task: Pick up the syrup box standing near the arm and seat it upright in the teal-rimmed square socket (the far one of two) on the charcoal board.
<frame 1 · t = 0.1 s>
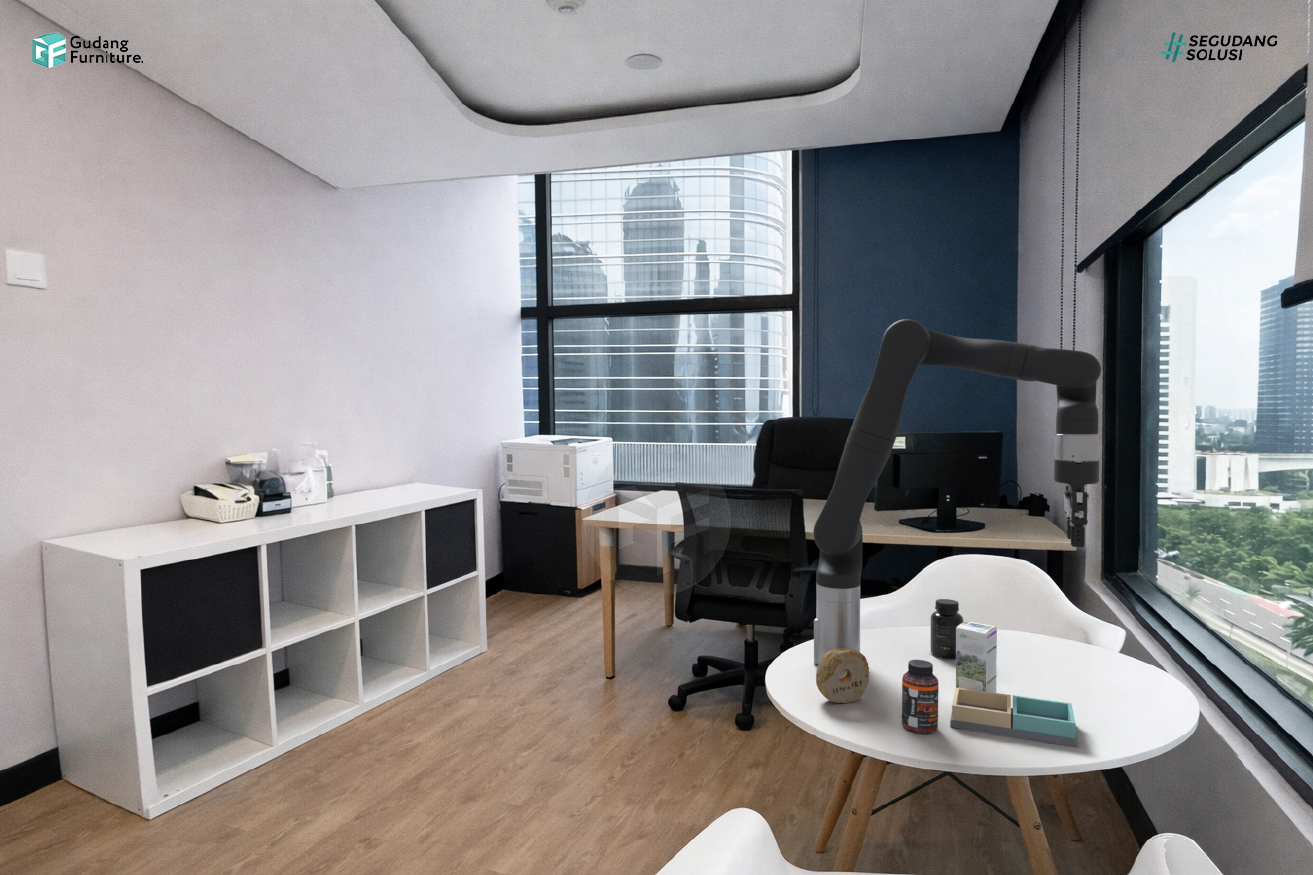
hand: (1075, 542, 144), 29 cm above the table, fingers open, 8 cm apart
stone disc: (842, 701, 143), on the table
supplement bottle: (946, 655, 169), on the table
supplement bottle 2: (919, 728, 130), on the table
syrup box: (976, 703, 141), on the table
socket board: (1011, 725, 131), on the table
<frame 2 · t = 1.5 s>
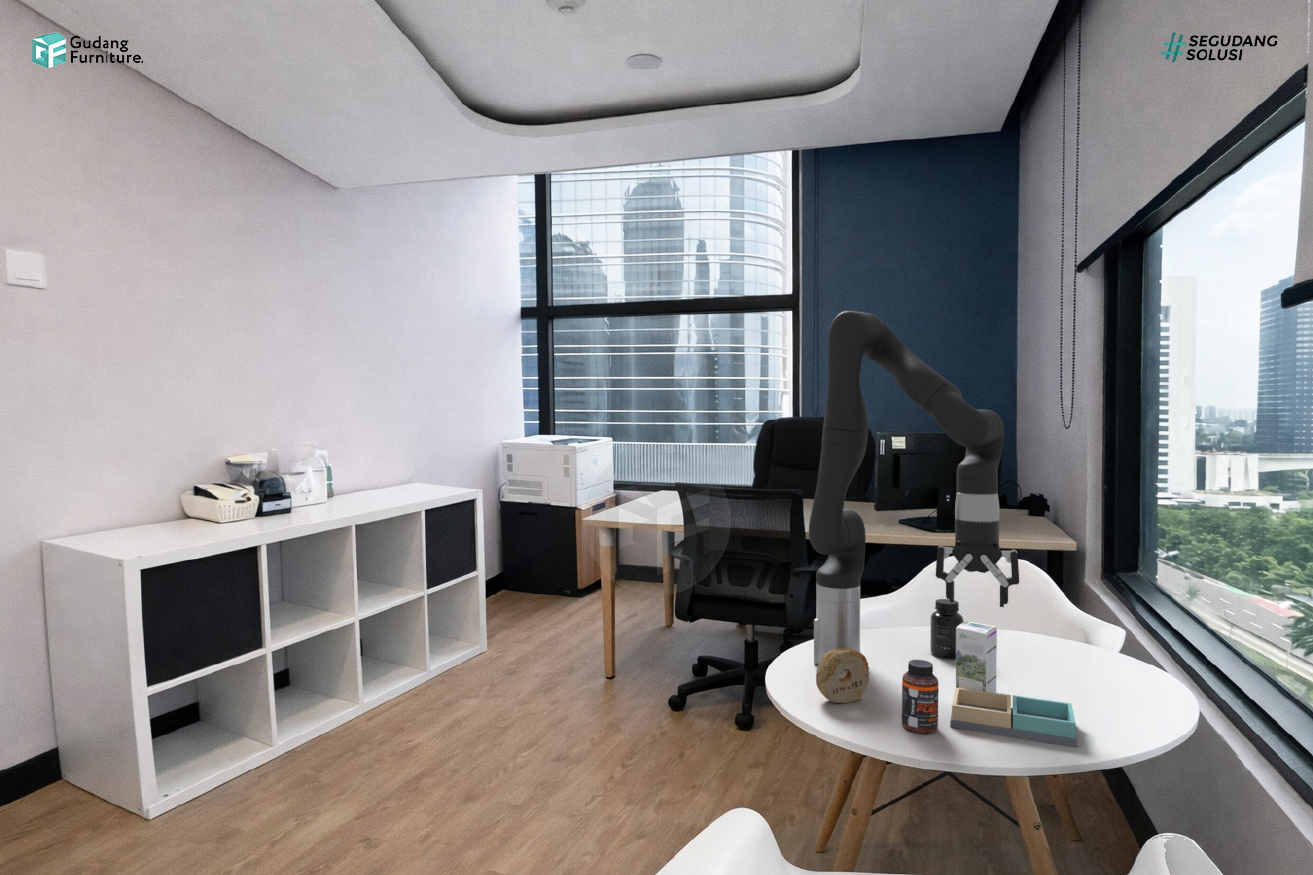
hand: (976, 603, 141), 19 cm above the table, fingers open, 8 cm apart
nothing on the table moved.
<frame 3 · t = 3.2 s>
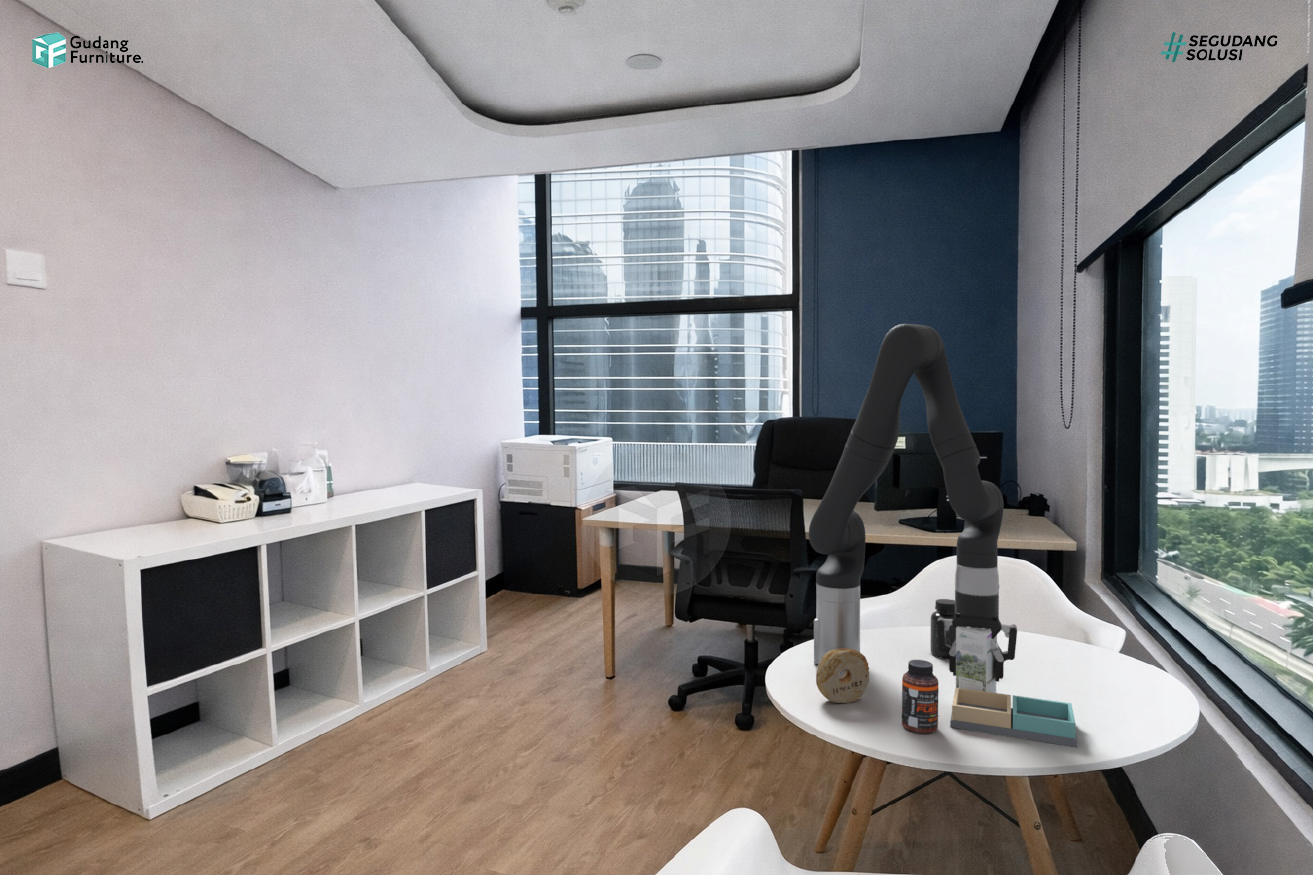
hand: (976, 677, 141), 5 cm above the table, fingers closed on syrup box, 6 cm apart
syrup box: (976, 703, 141), on the table, touching gripper
everything else where it was.
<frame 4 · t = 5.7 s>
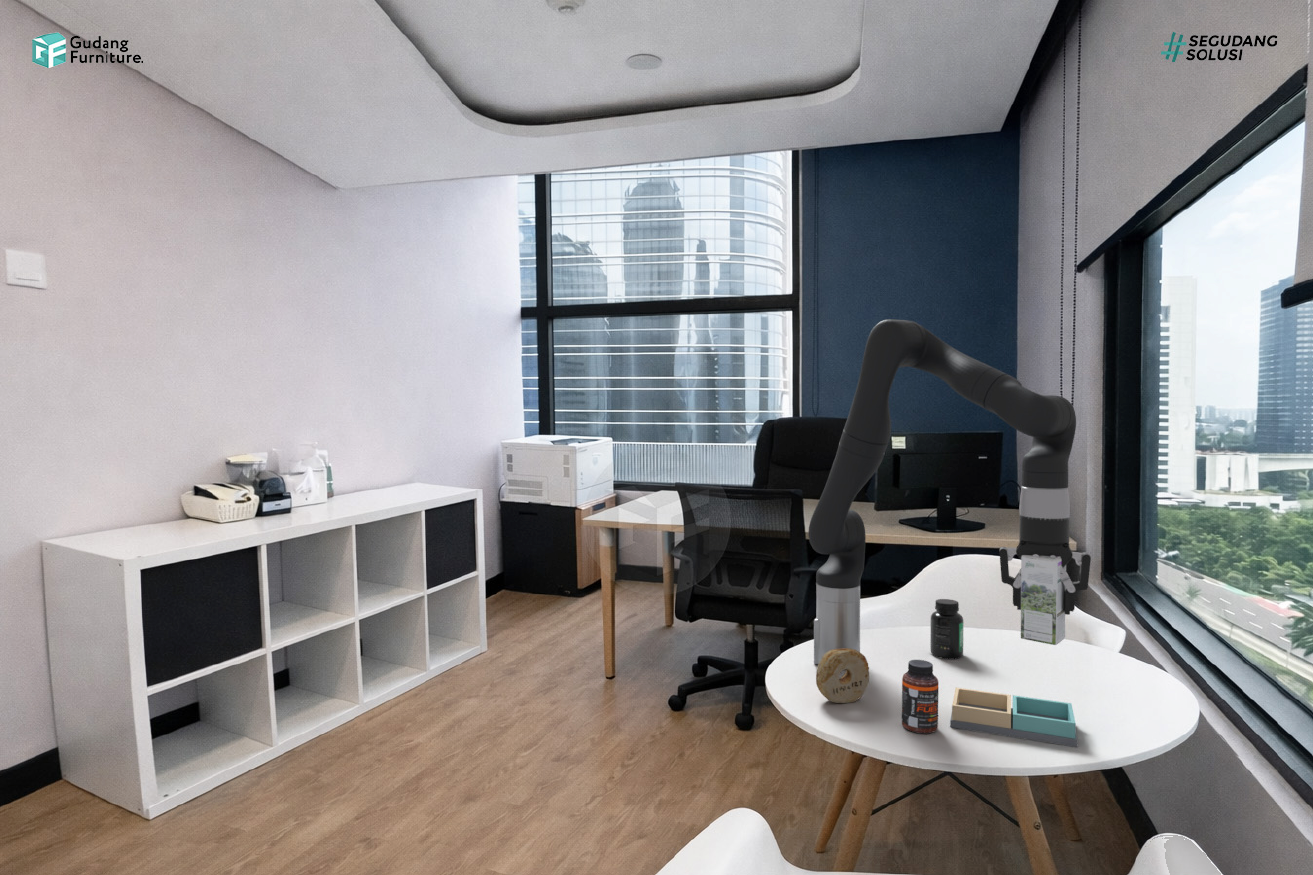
hand: (1043, 610, 128), 20 cm above the table, fingers closed on syrup box, 6 cm apart
syrup box: (1042, 640, 129), point 15 cm above the table, touching gripper
everything else where it was.
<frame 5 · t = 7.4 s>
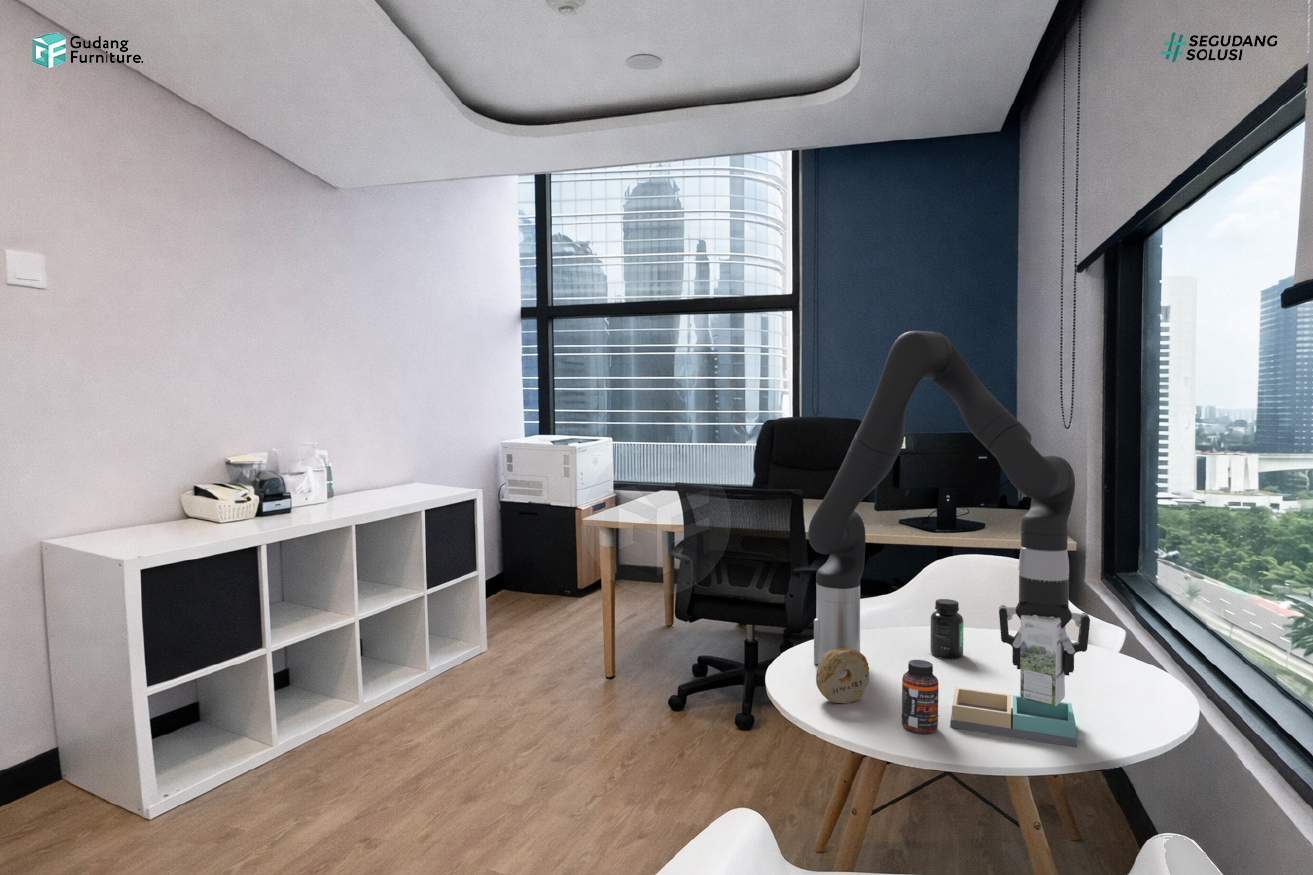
hand: (1042, 670, 129), 10 cm above the table, fingers closed on syrup box, 6 cm apart
syrup box: (1042, 699, 129), point 5 cm above the table, touching gripper
everything else where it was.
when the fingers open (8 cm above the table, at t = 8.6 s): syrup box drops 2 cm, resting on socket board.
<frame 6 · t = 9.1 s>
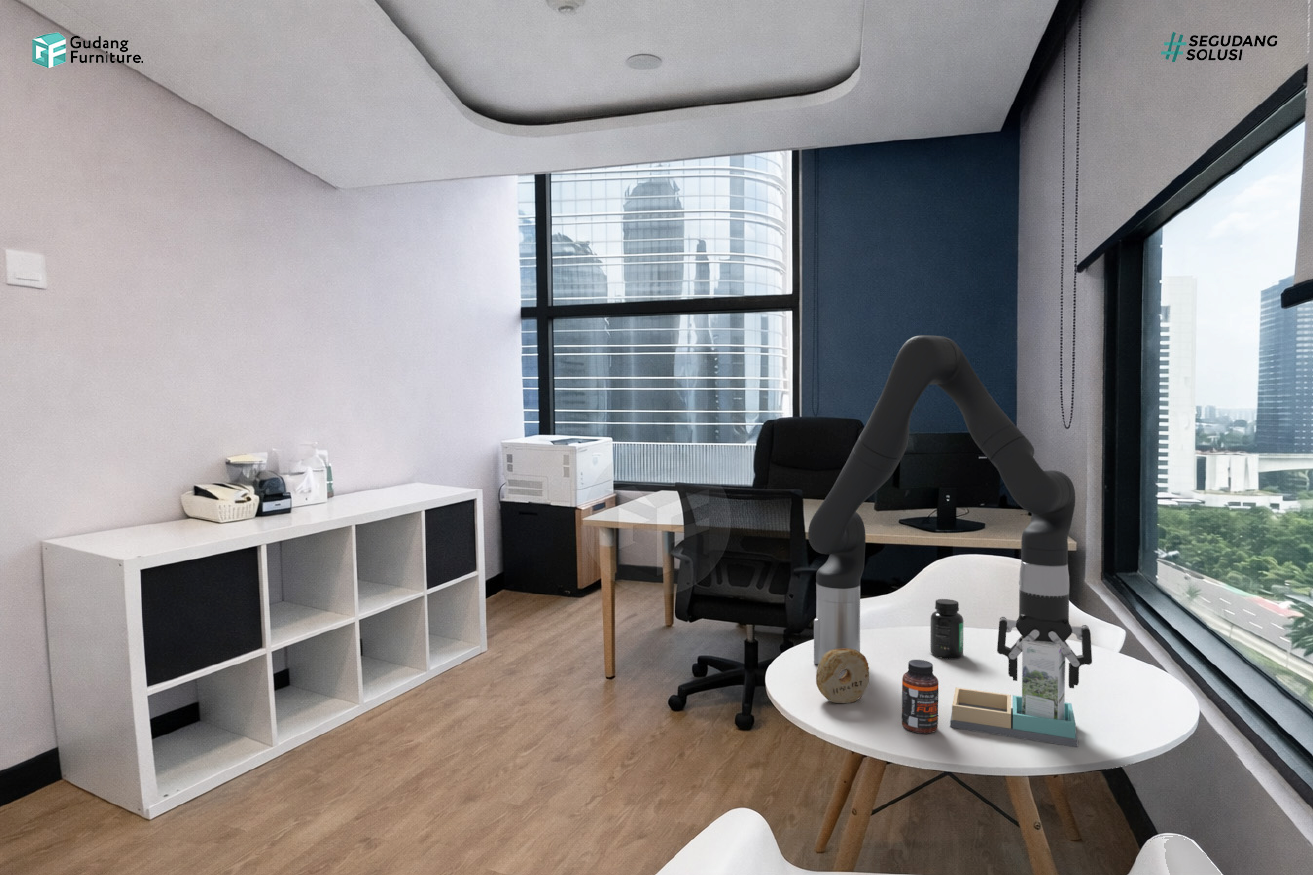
hand: (1042, 683, 129), 8 cm above the table, fingers open, 8 cm apart
syrup box: (1043, 724, 129), point 1 cm above the table, touching socket board
everything else where it was.
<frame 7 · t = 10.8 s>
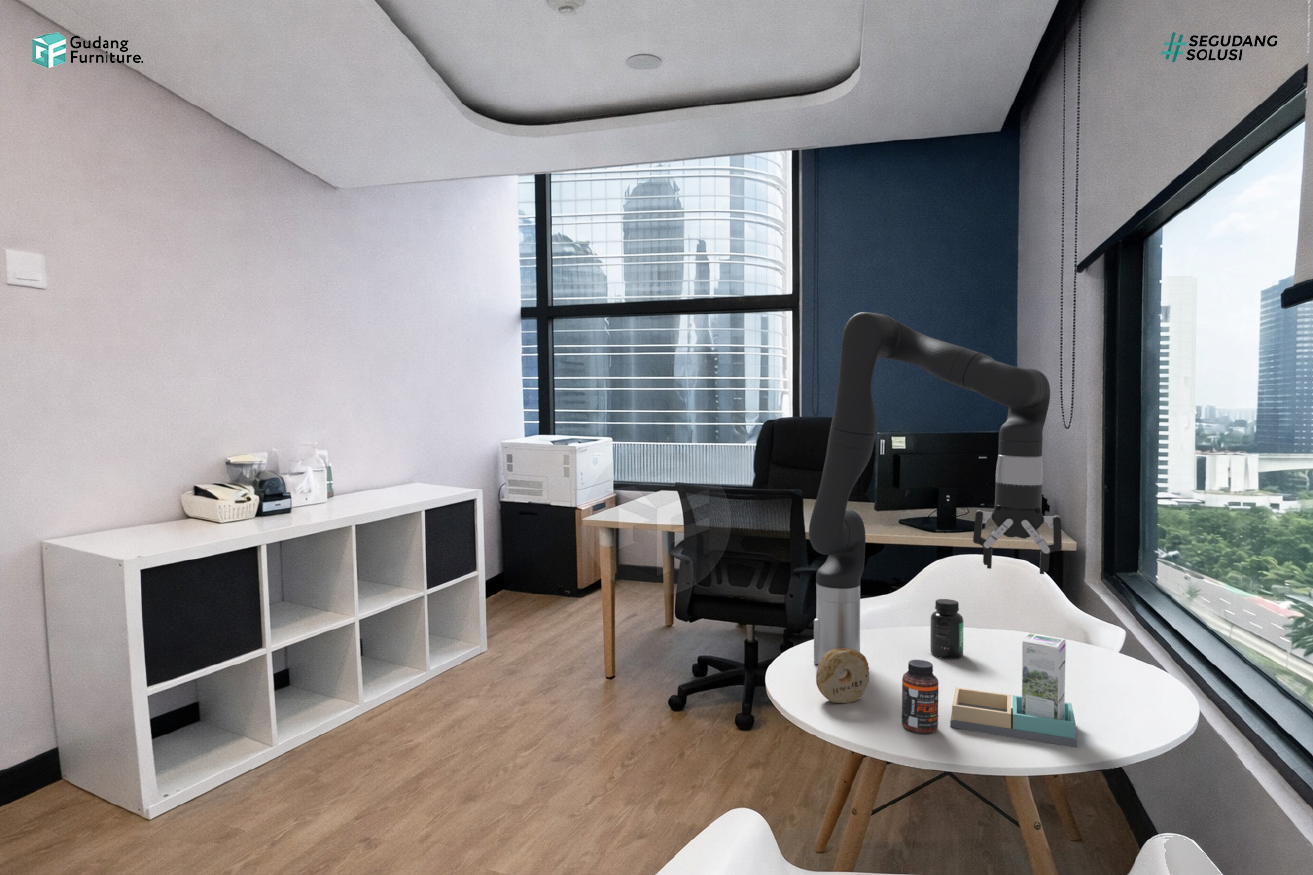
hand: (1015, 570, 136), 26 cm above the table, fingers open, 8 cm apart
nothing on the table moved.
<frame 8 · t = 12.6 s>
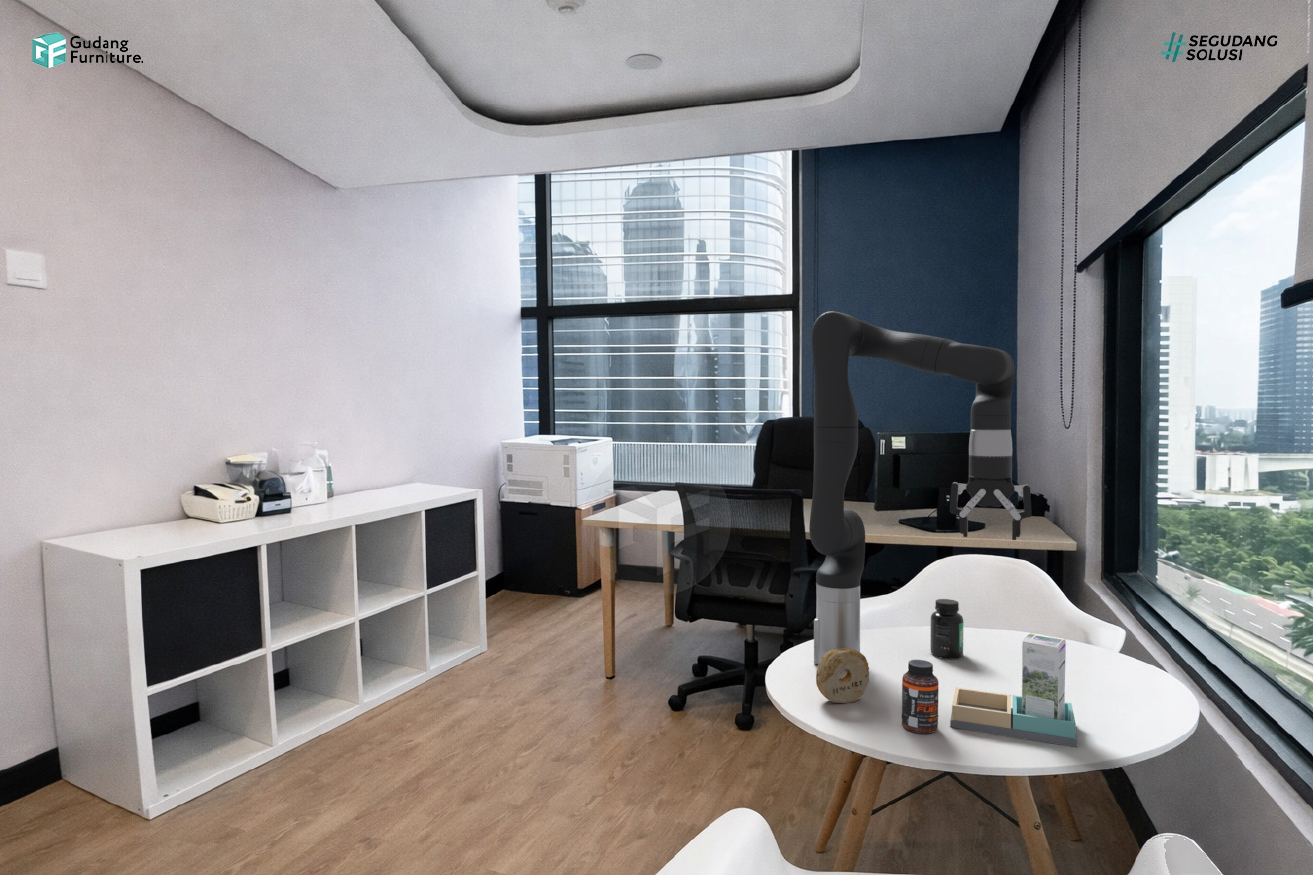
hand: (989, 537, 145), 30 cm above the table, fingers open, 8 cm apart
nothing on the table moved.
at the end: syrup box 0.2 cm from the target spot on the socket board, point 1.0 cm above the socket board's base; syrup box tilted 0°; the gripper is holding nothing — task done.
